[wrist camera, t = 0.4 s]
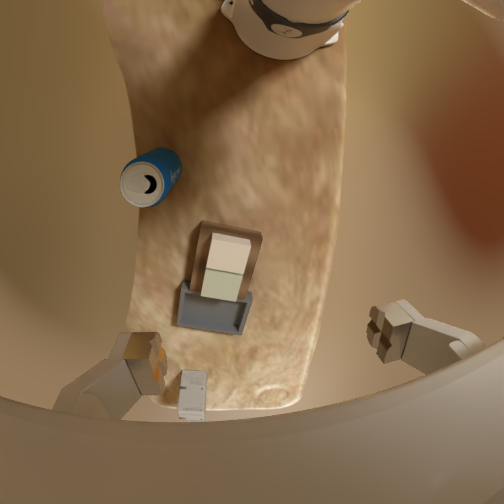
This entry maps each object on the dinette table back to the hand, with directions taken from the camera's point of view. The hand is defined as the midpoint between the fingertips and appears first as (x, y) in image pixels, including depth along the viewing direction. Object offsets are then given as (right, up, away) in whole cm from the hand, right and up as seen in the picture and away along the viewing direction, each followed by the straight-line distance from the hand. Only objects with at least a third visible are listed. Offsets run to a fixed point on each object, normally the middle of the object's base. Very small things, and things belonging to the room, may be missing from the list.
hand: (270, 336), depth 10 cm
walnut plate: (-6, +2, +39) cm, 40 cm away
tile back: (-6, -1, +38) cm, 38 cm away
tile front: (-5, +3, +36) cm, 36 cm away
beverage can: (-15, +16, +32) cm, 39 cm away
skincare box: (-15, -27, +53) cm, 62 cm away
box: (-8, -7, +44) cm, 45 cm away
